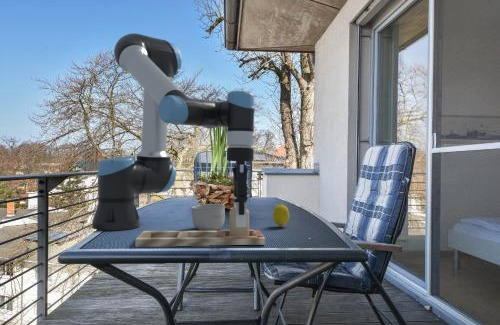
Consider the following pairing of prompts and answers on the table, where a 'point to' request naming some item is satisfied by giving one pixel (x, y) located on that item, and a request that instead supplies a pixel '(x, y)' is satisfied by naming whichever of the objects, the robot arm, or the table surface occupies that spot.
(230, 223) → the candle
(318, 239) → the table surface
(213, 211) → the teacup
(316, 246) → the table surface
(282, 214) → the lemon
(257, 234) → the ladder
